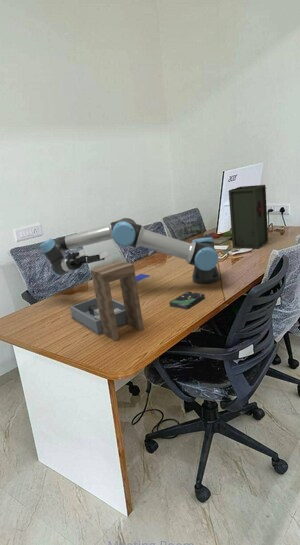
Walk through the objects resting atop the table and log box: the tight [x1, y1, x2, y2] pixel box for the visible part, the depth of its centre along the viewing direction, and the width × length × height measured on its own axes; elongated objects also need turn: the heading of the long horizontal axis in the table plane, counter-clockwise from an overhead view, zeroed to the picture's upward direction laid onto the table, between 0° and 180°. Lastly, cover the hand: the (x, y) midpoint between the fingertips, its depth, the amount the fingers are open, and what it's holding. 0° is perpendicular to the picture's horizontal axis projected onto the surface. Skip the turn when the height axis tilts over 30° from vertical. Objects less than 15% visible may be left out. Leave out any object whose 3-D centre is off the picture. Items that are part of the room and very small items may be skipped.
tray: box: [69, 297, 127, 336], centre depth 170 cm, size 27×18×6 cm, turn 35°
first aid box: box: [228, 184, 269, 250], centre depth 256 cm, size 18×18×40 cm
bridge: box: [90, 260, 145, 342], centre depth 151 cm, size 10×14×28 cm
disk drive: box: [169, 291, 206, 310], centre depth 176 cm, size 10×3×15 cm
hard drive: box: [135, 273, 151, 283], centre depth 222 cm, size 2×8×12 cm
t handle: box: [88, 305, 122, 320], centre depth 169 cm, size 19×12×4 cm, turn 34°
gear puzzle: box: [202, 231, 232, 241], centre depth 297 cm, size 31×16×4 cm, turn 51°
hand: (96, 252), depth 171 cm, fingers open, 13 cm apart
